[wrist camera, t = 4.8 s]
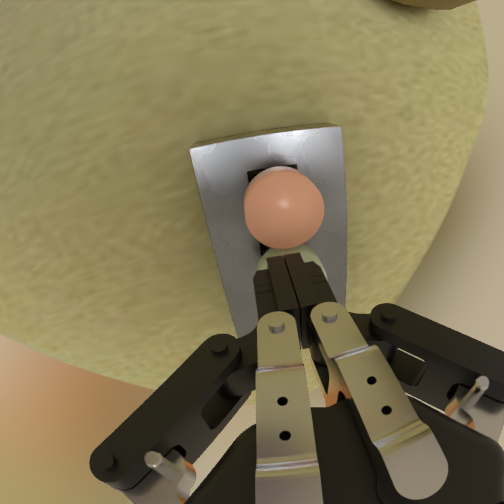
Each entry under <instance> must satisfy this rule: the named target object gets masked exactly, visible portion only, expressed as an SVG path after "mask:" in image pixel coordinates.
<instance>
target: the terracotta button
mask: <svg viewBox="0 0 504 504" xmlns="http://www.w3.org/2000/svg"><path fill="white" fill-rule="evenodd" d="M244 213H245V221H246V224H247V227H248V229H249V231H250V233H251V234H252V235H253V236H254V238H256V239H257V240H258V241H259V242H261V243H262V244H264V245H266V246H269V247H272V248H277V249H287V248H293V247H296V246H299V245H301V244H303V243H305V242H306V241H308V240H309V239H310V238H312V237H313V236H314V234H315V233H316V232H317V231H318V229H319V227H320V226H321V223H322V221H323V217H324V201H323V198H322V195H321V193H320V191H319V190H318V188H317V187H316V186H315V185H314V184H313V183H312V182H311V181H310V179H309V178H308V177H307V176H306V175H304V174H303V173H302V172H300V171H298V170H296V169H294V168H291V167H285V166H279V167H272V168H269V169H266V170H264V171H262V172H261V173H259V174H258V175H256V176H255V177H254V178H253V179H252V181H251V182H250V183H249V185H248V187H247V189H246V191H245V194H244Z"/></svg>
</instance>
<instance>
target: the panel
mask: <svg viewBox="0 0 504 504" xmlns="http://www.w3.org/2000/svg"><path fill="white" fill-rule="evenodd" d="M190 154H191V158H192V163H193V167H194V171H195V176H196V180H197V184H198V188H199V193H200V197H201V201H202V205H203V209H204V213H205V217H206V221H207V225H208V229H209V233H210V237H211V241H212V245H213V249H214V253H215V256H216V260H217V264H218V268H219V271H220V275H221V279H222V283H223V286H224V290H225V294H226V297H227V301H228V304H229V308H230V312H231V315H232V319H233V322H234V326H235V329H236V333H237V336H238V338H240V337H243V336H245V335H247V334H249V333H250V332H251V331H253V330H254V328H255V327H256V326H257V323H258V313H257V306H256V298H255V291H254V284H253V277H254V275H255V273H256V271H257V265H258V262H259V260H260V259H261V257H262V256H261V251H260V245H259V241H258V240H257V239H256V238H254V236H253V235H252V234H251V233H250V231H249V229H248V227H247V224H246V221H245V213H244V194H245V191H246V189H247V187H248V185H249V181H248V176H247V171H253V170H258V169H265V168H271V167H277V166H284V165H291V168H294V169H296V170H298V171H300V172H302V173H303V174H304V175H306V176H307V177H308V178H309V179H310V181H311V182H312V183H313V184H314V185H315V186H316V187H317V188H318V190H319V191H320V193H321V195H322V198H323V201H324V217H323V221H322V223H321V226H320V227H319V229H318V231H317V232H316V233H315V234H314V236H313V237H312V238H310V239H309V240H308V241H306V242H305V243H303V244H305V245H308V246H309V247H311V248H312V249H313V250H314V251H315V252H316V254H317V255H318V257H319V259H320V261H321V263H322V265H323V267H324V269H325V271H326V274H327V281H328V283H329V285H330V287H331V290H332V292H333V294H334V296H335V298H336V300H337V302H338V303H339V304H341V305H343V306H344V307H345V301H346V273H347V212H346V184H345V166H344V152H343V140H342V129H341V126H338V125H335V124H331V123H321V124H311V125H301V126H292V127H284V128H277V129H270V130H263V131H256V132H250V133H244V134H238V135H233V136H227V137H222V138H217V139H212V140H207V141H203V142H198V143H194V144H193V146H192V147H191V148H190Z"/></svg>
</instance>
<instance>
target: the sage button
mask: <svg viewBox="0 0 504 504" xmlns="http://www.w3.org/2000/svg"><path fill="white" fill-rule="evenodd" d="M297 252H300V254H301V256H302V259H303V261H304V263H305V262H310V261H313V262H315V263H316V264H317V265H319V266H320V267H321V269H322V271H323V273H324V275H325V277H326V279H327V274H326V271H325V269H324V267H323V265H322V263H321V261H320V259H319V257H318V255H317V254H316V252H315V251H314V250H313V249H312V248H311V247H309V246H308V245H305V244H301V245H299V246H296V247H293V248H287V249H277V248H272V247H269V246H268V248H267V252H265V253H264V255H263V256H262V257H261V259H260V260H259V262H258V265H257V271H258V270H264V269H268V268H267V260H266V258H268V257H274V256H280V255H282V256H283V255H285V254H291V253H297Z"/></svg>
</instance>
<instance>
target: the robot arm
mask: <svg viewBox="0 0 504 504" xmlns="http://www.w3.org/2000/svg"><path fill="white" fill-rule="evenodd" d="M266 260H267V268H268V269H264V270H258V271H256V273H255V275H254V277H253V284H254V291H255V298H256V306H257V313H258V323H257V326H256V327H255V328H254V330H253V331H251V332H250V333H249V334H247V335H245V336H243V337H240V338H238V339H236V338H235V337H234V336H232V335H229V334H217V335H214V336H211V337H209V338H208V339H207V340H205V341H204V342H203V343H202V344H201V345H200V346H199V347H198V349H197V350H196V351H195V352H194V353H193V354H192V355H191V356H190V357H189V358H188V359H187V360H186V361H185V362H184V363H183V364H182V365H181V366H180V367H179V368H178V369H177V370H176V371H175V372H174V373H173V374H172V375H171V376H170V377H169V378H168V379H167V380H166V381H165V382H164V383H163V384H162V385H161V386H160V387H159V388H158V389H157V390H156V391H155V392H154V393H153V394H152V395H151V396H150V397H149V398H148V399H147V400H146V401H145V402H144V403H143V404H142V405H141V406H140V407H139V408H138V409H137V410H135V411H134V412H133V413H132V414H131V415H130V416H129V417H128V418H127V419H126V420H125V421H124V422H123V423H122V424H121V425H120V426H119V427H118V428H117V429H116V430H115V431H114V432H113V433H112V434H111V435H110V436H108V438H106V439H105V440H104V441H103V442H102V443H101V444H100V445H99V446H98V447H97V448H96V449H95V450H94V451H93V453H92V455H91V457H90V462H89V463H90V469H91V471H92V473H93V475H94V476H95V477H96V478H97V479H99V480H100V481H102V482H104V483H106V484H108V485H110V486H111V487H112V488H114V489H116V490H118V491H120V492H122V493H124V494H125V495H126V496H127V497H128V498H129V499H130V500H131V501H132V502H133V503H134V504H504V451H503V449H502V447H501V446H500V445H499V444H498V443H497V442H498V439H499V436H500V433H501V431H502V428H503V425H504V352H503V351H501V350H499V349H496V348H494V347H492V346H490V345H487V344H485V343H482V342H480V341H478V340H476V339H473V338H471V337H469V336H467V335H464V334H462V333H460V332H458V331H455V330H453V329H451V328H448V327H446V326H444V325H441V324H439V323H437V322H434V321H432V320H430V319H428V318H425V317H423V316H420V315H418V314H416V313H414V312H411V311H409V310H407V309H404V308H402V307H400V306H397V305H395V304H390V303H384V304H379V305H377V306H376V307H374V308H373V309H372V311H371V314H355V313H351V312H348V311H347V309H346V308H345V307H344V306H343V305H341V304H339V303H338V302H337V300H336V298H335V296H334V294H333V292H332V290H331V287H330V285H329V283H328V281H327V279H326V277H325V275H324V273H323V271H322V269H321V267H320V266H319V265H317V264H316V263H315V262H313V261H310V262H305V263H304V261H303V259H302V256H301V254H300V252H297V253H291V254H285V255H283V256H282V255H280V256H274V257H268V258H266ZM301 345H302V348H303V349H306V348H309V349H310V353H311V364H312V367H313V370H314V372H315V375H316V378H317V380H318V383H319V386H320V388H321V391H322V393H323V396H324V399H325V403H326V407H324V408H322V407H321V408H319V407H315V408H314V407H310V401H309V394H308V387H307V381H306V374H305V368H304V364H303V363H302V357H301V351H300V350H301ZM398 348H400V349H402V350H404V351H406V352H408V353H411V354H413V355H415V356H417V357H419V358H421V359H423V360H424V361H425V362H423V361H421V360H419V359H417V358H415V357H413V356H411V355H409V354H407V353H405V352H403V351H400V350H398ZM253 390H256V424H254V425H252V426H251V427H249V428H248V429H246V430H245V431H244V432H243V433H241V435H239V436H238V437H237V438H236V440H235V441H234V442H233V443H232V445H231V446H230V447H229V449H228V450H227V451H226V453H225V454H224V455H223V457H222V458H221V459H220V460H219V462H218V463H217V464H216V465H215V467H214V468H213V469H212V471H211V472H210V473H209V474H208V475H207V477H206V478H205V479H204V480H203V482H202V483H201V484H200V486H198V488H197V489H196V490H195V491H194V492H193V493H192V495H191V496H190V497H189V492H190V490H191V488H192V486H193V485H194V483H195V481H196V471H195V469H194V467H193V465H192V464H193V463H194V462H195V461H196V460H197V459H198V458H199V457H200V455H201V454H202V453H203V452H204V451H205V450H206V449H207V448H208V446H209V445H210V444H211V443H212V442H213V441H214V439H215V438H216V437H217V436H218V434H219V433H220V432H221V431H222V430H223V429H224V427H225V426H226V425H227V424H228V423H229V421H230V420H231V419H232V418H233V416H234V415H235V414H236V413H237V411H238V410H239V409H240V407H241V406H242V405H243V404H244V403H245V401H246V400H247V399H248V397H249V396H250V394H251V391H253ZM405 392H406V393H408V394H410V395H412V396H414V397H416V398H418V399H420V400H422V401H424V402H426V403H428V404H430V405H432V406H434V407H436V408H438V409H441V410H442V411H444V412H445V414H446V415H445V414H443V413H441V412H439V411H437V410H435V409H433V408H431V407H430V406H428V405H426V404H424V403H422V402H420V401H418V400H417V399H415V398H413V397H410V396H408V395H406V394H405Z"/></svg>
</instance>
